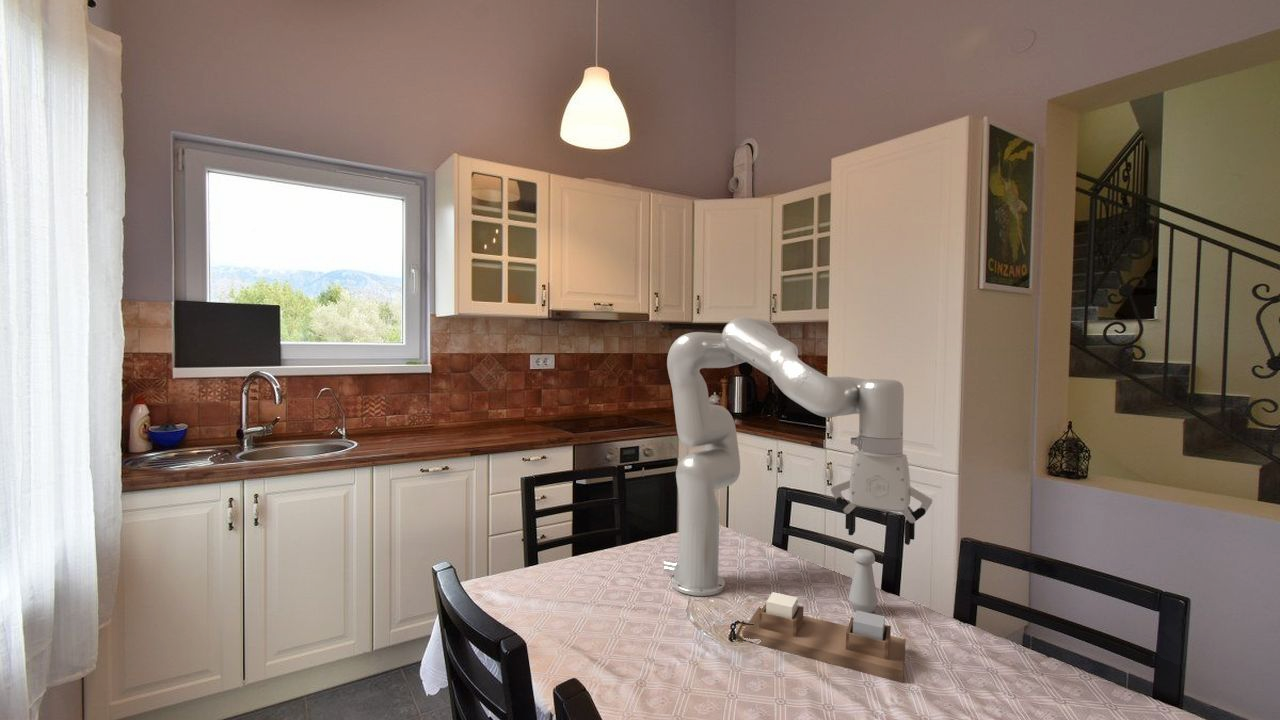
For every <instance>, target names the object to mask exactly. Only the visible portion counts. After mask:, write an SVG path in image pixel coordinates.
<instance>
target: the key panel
mask: <svg viewBox="0 0 1280 720" xmlns="http://www.w3.org/2000/svg"><path fill="white" fill-rule="evenodd" d="M804 607H805V606H802V605H799V604H798V605H797V611H796V613H795V615H794V617H793V618H792V619H790V618H785V617H781V616H777V615H773V614H768V613H766V603H765V604H764V605H763V608H762V609H761V608H760V607H759V606H758V608H757V609H756V611H755V612H754V613H753V614H752V617H751V618H750V619H749V620H748V622H747V624H748V623H754V625H747V624H746V625H745V627H743V629H742V638H743V637H744V638H748V639H749V638H750V639H760V640H761V642H760V643H759V645H758V646H762V647H766V648H770V649H773V650H777V651H782V652H785V653H789V654H793V655H796V656H800V657H804V658H807V659H811V660H816V661H820V662H823V663H827V664H831V665H833V666H838V667H843V668H846V669H850V670H853V671H856V672H857V671H858V672H862V673H864V674H870V675H872V676H877V677H879V678H880V677H881V678H884V679H888V680H892V681H895V682H899V683H903V677H904V670H905V669H904V668H905V660H906V659H905V656H906V648H907V647H906V645H907V644H906V642H907V639H905V638H901V637H897V636H893V635H891V632H892V631H891V629H892V626H891V625H887V624H885V629H884V635H883V640H879V639H875V638H870V637H866V636H862V635H858V634H853V620H854V617H850V620H849V622H848V625H845V624H840V623H836V622H832V621H829V620H828V621H827V620H823V619H819V618H815V617H810V616H806V615H804V609H805V608H804Z"/></svg>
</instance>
